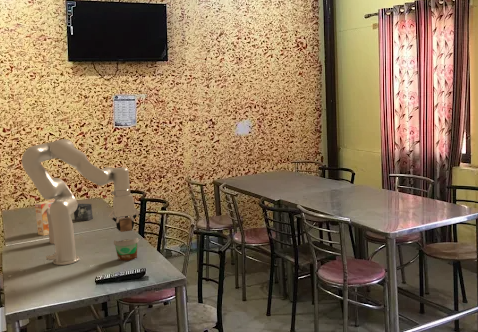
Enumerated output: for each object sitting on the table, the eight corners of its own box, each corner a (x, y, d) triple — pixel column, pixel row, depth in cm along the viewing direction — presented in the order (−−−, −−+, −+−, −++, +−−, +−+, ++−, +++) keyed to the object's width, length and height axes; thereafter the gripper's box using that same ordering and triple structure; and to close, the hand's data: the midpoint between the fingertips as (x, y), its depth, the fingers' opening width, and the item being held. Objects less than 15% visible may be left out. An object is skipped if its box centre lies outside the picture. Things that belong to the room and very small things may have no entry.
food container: (115, 263, 260) (113, 243, 259) (114, 259, 266) (113, 239, 265) (141, 259, 263) (139, 239, 262) (140, 256, 269) (138, 236, 268)
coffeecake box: (44, 236, 321) (40, 204, 319) (37, 234, 326) (34, 203, 323) (65, 230, 333) (62, 199, 331) (58, 228, 337) (55, 198, 335)
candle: (63, 245, 297) (60, 210, 295) (47, 243, 304) (43, 208, 302) (73, 242, 303) (70, 207, 301) (57, 239, 311) (53, 206, 308)
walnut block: (120, 232, 259) (119, 220, 259) (118, 229, 264) (117, 218, 264) (132, 230, 261) (131, 219, 261) (130, 228, 266) (129, 217, 266)
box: (74, 220, 359) (72, 205, 358) (79, 218, 365) (78, 203, 364) (87, 221, 356) (86, 205, 355) (93, 218, 362) (91, 203, 361)
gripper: (105, 196, 254) (109, 233, 256) (141, 192, 260) (144, 228, 262) (103, 193, 261) (106, 230, 263) (138, 189, 267) (141, 225, 269)
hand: (125, 228), depth 263 cm, fingers closed on walnut block, 5 cm apart
